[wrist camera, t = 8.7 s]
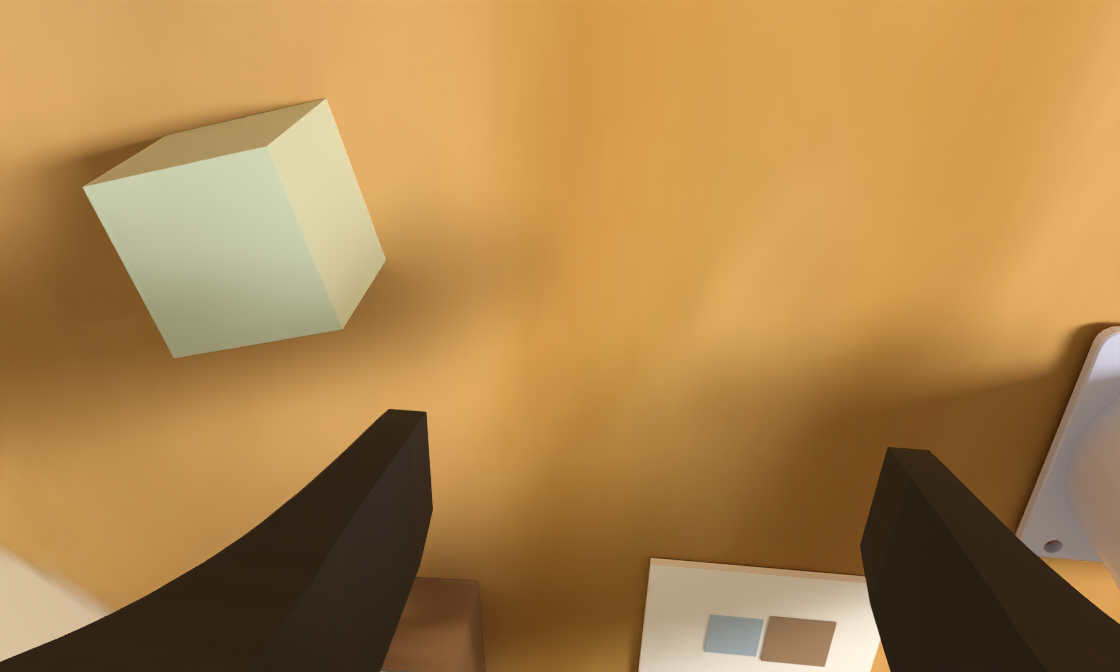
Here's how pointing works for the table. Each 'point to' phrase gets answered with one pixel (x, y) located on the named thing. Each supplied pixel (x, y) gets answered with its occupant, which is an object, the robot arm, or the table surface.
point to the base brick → (438, 629)
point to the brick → (243, 230)
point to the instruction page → (755, 620)
